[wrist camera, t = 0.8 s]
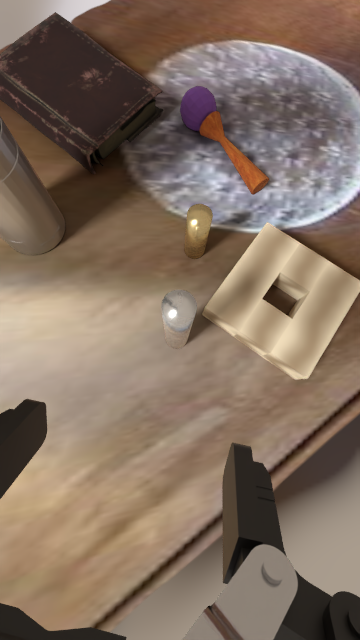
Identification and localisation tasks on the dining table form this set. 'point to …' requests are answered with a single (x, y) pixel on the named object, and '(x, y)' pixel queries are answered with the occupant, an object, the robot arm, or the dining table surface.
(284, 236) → the hole plate
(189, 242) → the short pin
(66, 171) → the dining table surface
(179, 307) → the long pin
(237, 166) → the purple maraca
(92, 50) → the diary
